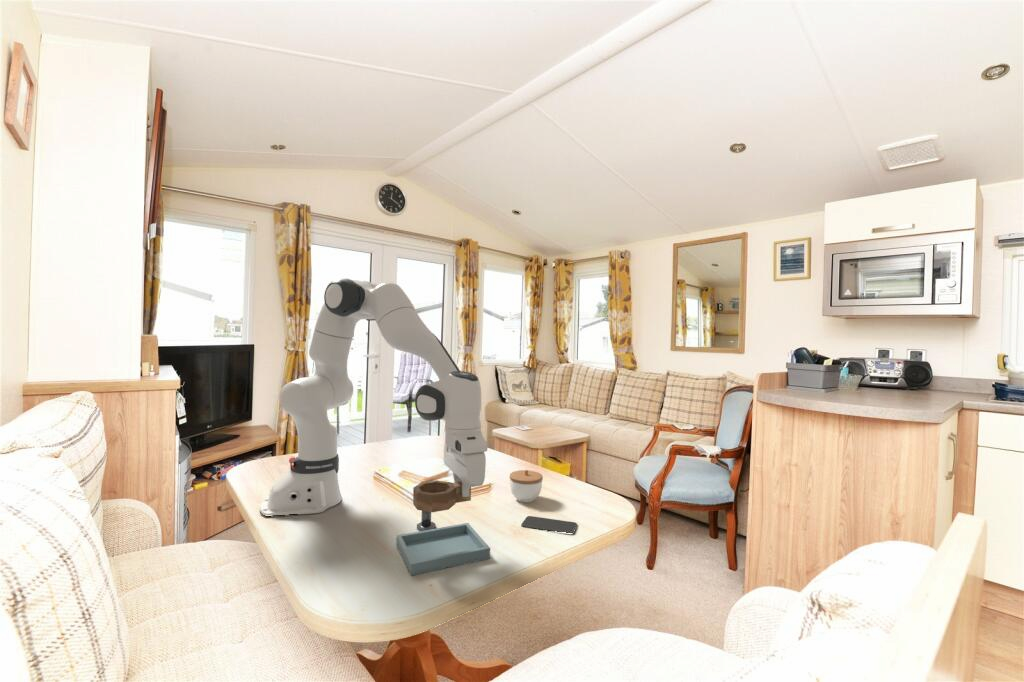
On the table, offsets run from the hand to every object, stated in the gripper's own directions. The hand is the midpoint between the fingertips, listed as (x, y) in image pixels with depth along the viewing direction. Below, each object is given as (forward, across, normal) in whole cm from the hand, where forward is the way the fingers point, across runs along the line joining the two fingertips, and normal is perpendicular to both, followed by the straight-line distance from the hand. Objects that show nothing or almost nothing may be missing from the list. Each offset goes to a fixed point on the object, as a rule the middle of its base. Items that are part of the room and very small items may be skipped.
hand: (461, 492), depth 111 cm
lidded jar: (+14, -23, +30) cm, 40 cm away
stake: (+14, -15, -5) cm, 21 cm away
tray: (+14, 0, -5) cm, 15 cm away
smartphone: (+15, -3, +27) cm, 31 cm away
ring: (+2, 0, -5) cm, 5 cm away
